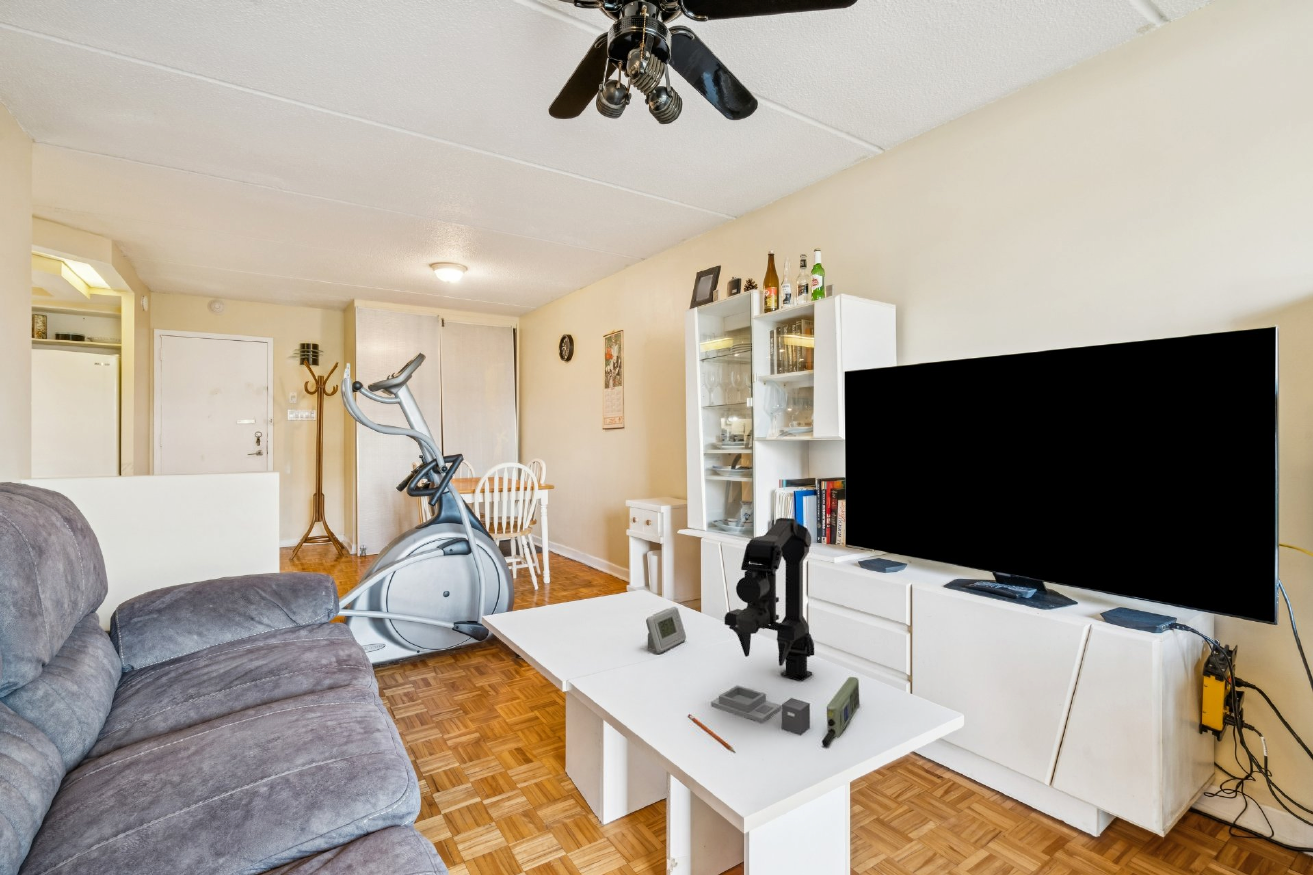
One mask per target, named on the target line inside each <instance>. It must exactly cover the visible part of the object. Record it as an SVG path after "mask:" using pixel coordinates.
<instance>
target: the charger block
mask: <svg viewBox="0 0 1313 875" xmlns="http://www.w3.org/2000/svg"><path fill="white" fill-rule="evenodd" d="M781 705H782V710H781V730H782V731H786V732H789V733H792V734H795V735H799V736H802V735H803V734H804V733H806V732H807V731H808V730H809V729H810V728H811V703H809V702H807V701H803V700H801V699H797V698H793V697H790V698H789V699H787V700H786V701H785V702H783V703H781Z"/></svg>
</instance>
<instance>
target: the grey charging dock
mask: <svg viewBox="0 0 1313 875" xmlns="http://www.w3.org/2000/svg"><path fill="white" fill-rule="evenodd" d="M710 707H712V708H716V709H719V710H722V711H724V710H725V712H727V711H728V713H730V712H732V714H733V713H734V715H736V714H738V715H737V716H739V715H740V717H742V716H744V717H743V718H745V717H746V719H749V720H751V719H752V721H755V722H757V721H758V723H760V724H763V723H765V722H766V721H768V720H769V719H770V718H772V717H773V716H775V715H776V714H778V713H779V712H780V711H782V704H778V703H777V702H776V703H775V702H772V701H768V700H767V694H766V693H764V692H762V691H758V690H754V689H750V688H747V687H745V686H744V687H743V686H740V685H738V684H737V685H735V686H733V687H731V688H730V689H729V690H726V691H724V692H723V693H721V694H719V695H718V697H717V698H715V699H713V700H712V701H711V702H710ZM774 714H775V715H774ZM771 716H772V717H771Z"/></svg>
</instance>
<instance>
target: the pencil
mask: <svg viewBox="0 0 1313 875" xmlns="http://www.w3.org/2000/svg"><path fill="white" fill-rule="evenodd" d="M687 718H688V719H689V720H691V721H692V722H693V723H694V724H696V725H697V726H698V727H700V728H701V729H702V730H703V731H704V732H706V733H707V734H708V735H709V736H711V737H712V738H713V739H715V740H716V741H717V742H719V744H721V745H722V746H723V747H724V748H726V749H727V750H728V751H730V752H732V753H735V754H736V751H735V749H734V748H733V746H731V745H730V744H729V743H728V742H726V741H725V740H723V739H722V738H721V737H720V736H719V735H717V734H716V733H715V732H713V731H712V730H711V729H709V728H708V727H707V726H706V725H705V724H703V723H702V722H701V721H700V720H698V719H697V718H695V717H694V716H693V715H692V714H690V713H689V714H688V715H687Z"/></svg>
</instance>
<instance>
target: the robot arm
mask: <svg viewBox="0 0 1313 875" xmlns="http://www.w3.org/2000/svg"><path fill="white" fill-rule="evenodd" d="M811 545H812V535H811V533H810V530H808V528H807V527H805V526H803V525H802V524H800V523H799V522H798V521H797V519H795V518H793V517H792V518H791V517H790V518H788V517H778V518H776V520H775V523H774V524H773V525H772V526H771V527H770V528H769V530H768V531H767V532H766V533H765V534H764V535H762V536H761V535H759V536H755V537H753V538H751V539H750V540H749V541H748V543H747V545H746V547H745V551H744V554H743V558H742V562H741V566H740V567H741V568H740V570H741V571H744V577H741V578H740V579H739V580H738V582H737V584H736V586H735V590H736V591H735V592H736V595H737V597H738V599H740V600H741V601H742V602H743V603H746V607H744V608H743V609H740V608H736V609H733V610H730V611H728V612H726V613H725V615H724V617H723V618H724V626H728V628H729V629H730V630H732V632H734V633H735V634H736V635H737V638H738V640H739V643H740V645H741V648H742V652H743V654H744V657H746V658H747V657H749V656H750V652H751V639H752V635H754V634H757V633H758V632H759V630H760V629H763V630H765V629H767V630H771V631H775V632H776V633H777V635H776V642H777V649H778V666H779V667H782V666H784V664H785V666H784V667H785V669H784V670H783V671H781V672H780V676H783V677H786V678H790V679H794V680H795V681H801V682H802V681H804V680H806V679H807V678H809V677H810V676H811V675H813V672H812V671H810V670H808V658H810V657H812V656H815V642H814V639H813V637H812V635H811V633H810V626H809V625H810V624H808V622H807V620H806V619H805V617H804V615H803V614H804V592H803V591H804V560H805V559H806V557H807V556H808V554H809V552H810V547H811ZM782 559H783V561H784V562H785V573H784V574H785V581H784V582H785V584H784V585H785V586H784V587H785V589H784V590H785V598H784V599H785V603H784V604H785V612H784V613H785V616H784V617H783V619H782V621H781V622H779V621H778V620H780V615H779V614H777V603H779V602H780V597H778V596H777V573H776V572H777V570H779V568H780V565H781V560H782Z"/></svg>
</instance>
